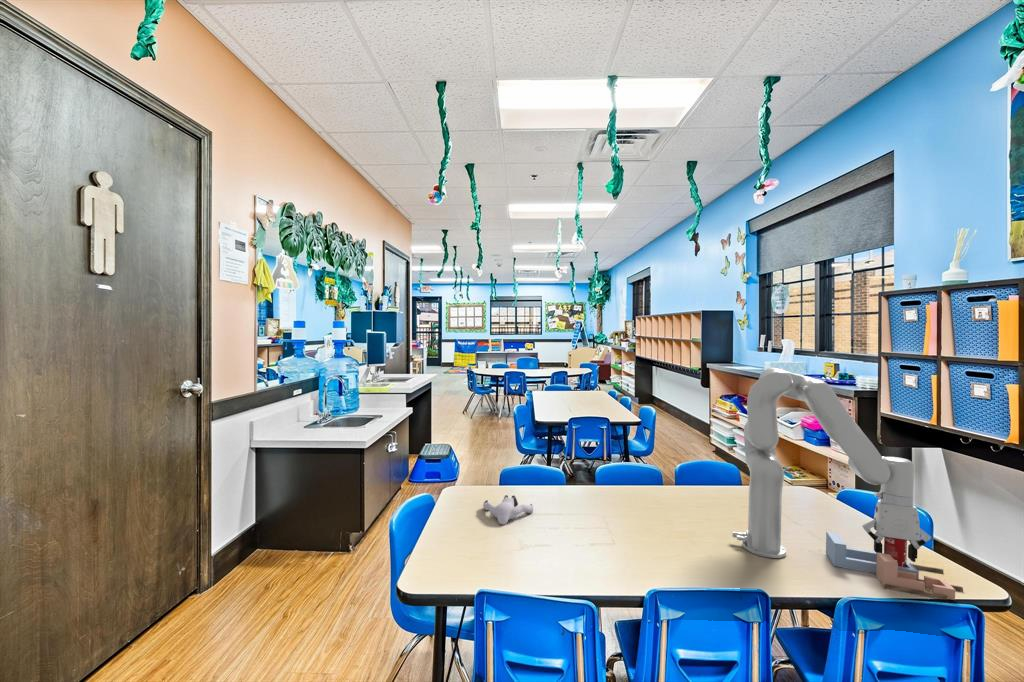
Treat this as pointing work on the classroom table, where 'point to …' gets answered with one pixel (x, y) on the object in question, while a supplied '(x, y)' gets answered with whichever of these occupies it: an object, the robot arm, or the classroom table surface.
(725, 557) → the classroom table surface
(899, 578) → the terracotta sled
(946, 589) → the broken frame end
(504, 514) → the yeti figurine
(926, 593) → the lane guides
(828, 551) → the frame
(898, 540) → the soda can
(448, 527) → the classroom table surface
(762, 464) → the robot arm
